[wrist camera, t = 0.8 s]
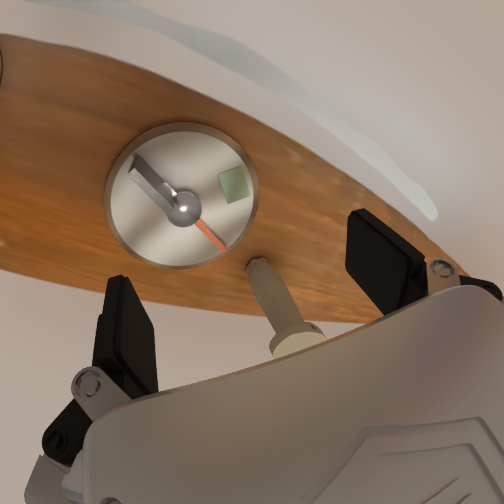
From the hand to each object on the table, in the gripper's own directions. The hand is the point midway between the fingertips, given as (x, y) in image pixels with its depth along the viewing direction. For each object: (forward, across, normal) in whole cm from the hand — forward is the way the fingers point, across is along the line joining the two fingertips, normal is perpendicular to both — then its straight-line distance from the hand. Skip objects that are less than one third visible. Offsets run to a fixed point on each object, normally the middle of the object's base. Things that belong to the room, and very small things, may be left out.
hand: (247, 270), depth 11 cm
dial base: (+22, +2, +4) cm, 22 cm away
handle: (+22, -5, +17) cm, 28 cm away
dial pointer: (+19, +2, +5) cm, 20 cm away
